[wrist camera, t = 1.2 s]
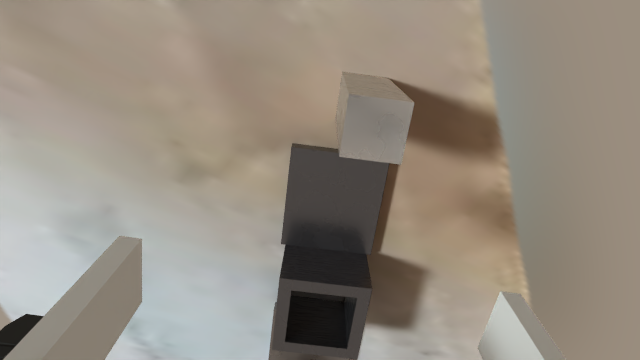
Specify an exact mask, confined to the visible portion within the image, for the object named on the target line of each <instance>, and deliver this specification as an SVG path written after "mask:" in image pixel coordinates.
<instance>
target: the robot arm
mask: <svg viewBox="0 0 640 360" xmlns="http://www.w3.org/2000/svg"><path fill="white" fill-rule="evenodd" d="M141 302H142V239H139V238H132V237H125V236H119V237H118V238H117V239H116V240H115V241H114V242H113V243H112V245H111V246H110V247H109V248H108V249H107V250H106V251H105V252H104V253H103V254H102V255H101V256H100V257H99V258H98V259H97V260H96V261H95V263H94V264H93V265H92V266H91V267H90V268H89V269H88V270H87V271H86V272H85V273H84V274H83V275H82V276H81V277H80V278H79V280H78V281H77V282H76V283H75V284H74V285H73V286H72V287H71V288H70V289H69V290H68V291H67V292H66V293H65V294H64V295H63V297H62V298H61V299H60V300H59V301H58V302H57V303H56V304H55V305H54V306H53V307H52V308H51V309H50V310H49V311H48V312H47V313H46V315H45V316H37V315H30V314H25V315H24V316H22V317H20V318H18V319H17V320H15V321H13V322H11V323H10V324H8V325H6V326H5V327H4V328H3V329H2V330H1V331H0V360H105V358H106V357H107V355H108V353H109V352H110V350H111V349H112V347H113V346H114V344H115V343H116V341H117V339H118V338H119V336H120V335H121V333H122V332H123V330H124V329H125V327H126V326H127V324H128V322H129V321H130V319H131V318H132V316H133V315H134V313H135V312H136V310H137V308H138V307H139V305H140V304H141ZM478 350H479V352H480V354H481V356H482V358H483V360H567V359H566V358H565V356H564V355H563V353H562V352H561V351H560V349H559V348H558V346H557V345H556V344H555V342H554V341H553V339H552V338H551V336H550V335H549V334H548V332H547V331H546V329H545V328H544V327H543V325H542V324H541V322H540V321H539V320H538V318H537V317H536V315H535V314H534V312H533V311H532V310H531V308H530V307H529V305H528V304H527V302H526V301H525V300H524V298H523V297H522V295H521V294H517V293H510V292H503V291H500V294H499V296H498V299H497V301H496V304H495V306H494V309H493V311H492V314H491V316H490V318H489V321H488V323H487V326H486V328H485V331H484V333H483V336H482V338H481V341H480V343H479V346H478Z"/></svg>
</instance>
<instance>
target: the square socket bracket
mask: <svg viewBox="0 0 640 360" xmlns="http://www.w3.org/2000/svg"><path fill="white" fill-rule="evenodd" d="M388 167H389V163H384V162H377V161H369V160H361V159H353V158H345V157H339V149H332V148H324V147H316V146H309V145H301V144H292V148H291V157H290V166H289V176H288V185H287V194H286V203H285V213H284V222H283V231H282V240H281V244H286V245H285V251H284V256H283V262H282V268H281V273H280V279H279V288H278V297H277V303H275V307H274V315H273V324H272V333H271V342H270V352H269V360H349V359H357V357H358V353H359V348H360V343H361V339H362V334H363V329H364V325H365V320H366V316H367V311H368V306H369V302H370V297H371V292H372V285H371V279H370V273H369V268H368V262H367V256H366V254H369V255H371V250H372V245H373V240H374V236H375V231H376V226H377V221H378V216H379V211H380V206H381V201H382V197H383V192H384V187H385V182H386V177H387V172H388ZM291 290H292V291H301V292H309V293H318V294H327V295H335V296H344V297H345V300H344V302H340V301H331V300H322V299H314V298H305V297H296V296H291Z"/></svg>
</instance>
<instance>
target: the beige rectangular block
mask: <svg viewBox="0 0 640 360" xmlns="http://www.w3.org/2000/svg"><path fill="white" fill-rule="evenodd" d="M413 107H414V102H413V101H412V100H411V99H410V98H409V97H408V96H407V95H406V94H405V93H404V92H403V91H402V90H400V89H399V88H398V87H397V86H396V85H395V84H394V83H393V82H392V81H391V80H390V79H389V78H384V77H377V76H369V75H362V74H355V73H347V72H342V76H341V83H340V90H339V97H338V104H337V111H336V128H337V139H338V149H339V157H345V158H353V159H361V160H369V161H377V162H384V163H392V164H400V165H401V163H402V158H403V153H404V149H405V144H406V140H407V135H408V130H409V126H410V121H411V117H412V112H413Z"/></svg>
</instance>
